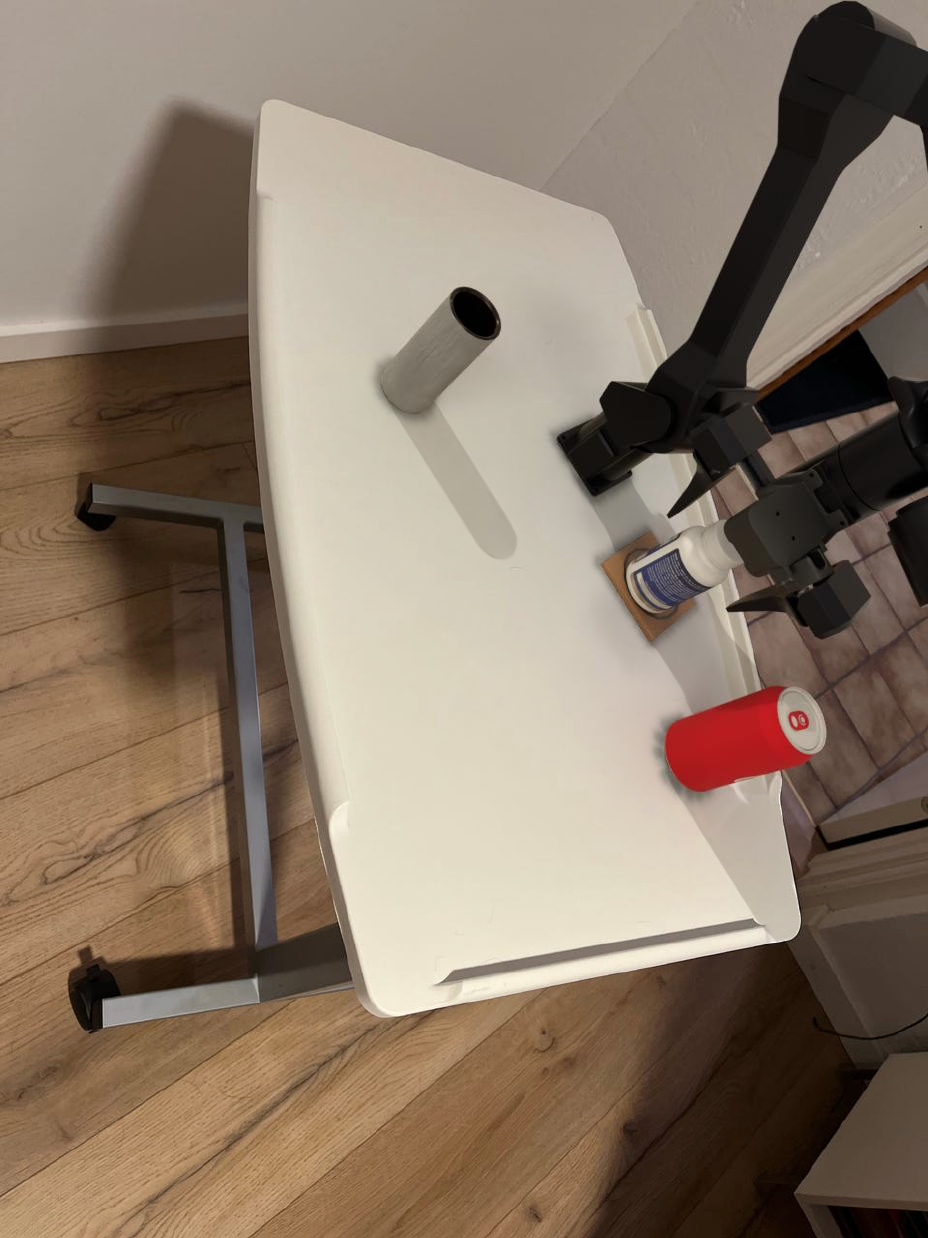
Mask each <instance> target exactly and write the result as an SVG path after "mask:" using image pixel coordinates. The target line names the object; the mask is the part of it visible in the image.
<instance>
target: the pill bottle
mask: <svg viewBox="0 0 928 1238" xmlns="http://www.w3.org/2000/svg"><path fill="white" fill-rule="evenodd" d="M727 520H728V519H726V518H723V519H722V518H721V519H719V520H717V521H715V522H713V523H712V524H710V525H709V526H707V527H706V526H704V525H703V526H702V525H692V526H688V527H687V528H685V529H683V530H682V531H680V532H679V533H678V532H677V534H675V535H672V536H671V537H670V538H668V539H666V540H664V541H662V542H661V543H659V545H657V546H655V547H654V548H652V549H650V550H648V551H647V552H645V553H643V554H642V555H640V556H638V557H637V558H635V559H634V560H632V561H631V562H630V564H629V566H628V568H627V573H626V579H627V584H628V588H629V590H630V593H631V595H632V597H633V598H634V600H635V601H636V602H637V603H638V604H639V605H640V606H641V607H642V608H644V609H645V610H647V611H649V612H652V613H661V612H664V611H666V610H669V609H671V608H673V607H675V606H677V605H679V604H681V603H683V602H685V601H687V600H689V599H691V598H693V599H694V598H695V597H697V596H699V595H702V594H703V593H706V592H708V591H709V590H711V589H713V588H715V587H717V586H719V585H721V584H722V583H724V582H725V581H726V579H727V578H728V576H729V573H730V570H732V569H735V568H737V567H739V566H741V565H743V564H744V562H743V560H742V558H741V557H740V555H739V554H738V552H737V551H736V549H735V547H734V546H733V544H732V543H730V542H729V541H728V540H727V538H726V536H725V534H724V524H725V522H726V521H727Z"/></svg>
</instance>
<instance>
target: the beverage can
mask: <svg viewBox="0 0 928 1238" xmlns="http://www.w3.org/2000/svg"><path fill="white" fill-rule="evenodd" d="M826 740H827V726H826V721H825V718H824V714H823V712H822V709H821V708H820V706H819V704H818V703H817V700H815V699H814V696H812V695H811V694H810V693H809V692H808V691H807V690H805V689H804V688H801V687H799V686H785V685H784V686H783V685H771V686H768V687H765V688H763V689H759V690H757V691H754V692H751V693H748V694H745V695H742V696H740V697H738V698H735V699H732V700H729V701H726V702H724V703H721V704H718V705H715V706H713V707H710V708H707V709H705V710H702V711H699V712H697V713H694V714H690V715H688V716H686V717H683V718H680V719H677V720H675V721H674V722H672V723H671V725H670V726H669V727H668V728H667V731H666V733H665V737H664V755H665V759H666V762H667V765H668V767H669V770H670V771H671V773H672V775H673V776H674V777H675V779H676V780H677V781H678V782H679V783H680V784H681V785H682V786H683V787H684V788H685V789H688V790H690V791H691V792H696V793H704V792H708V791H711V790H715V789H718V788H722V787H725V786H729V785H732V784H737V783H741V782H744V781H747V780H751V779H755V778H759V777H762V776H765V775H769V774H773V773H778V772H780V771H785V770H787V769H788V770H789V769H791V768H794V767H795V768H796V767H798V766H802V765H803V764H805V763H807V762H808V761H809V760H810V759H812V757H814V755H815V754H817V753H819V752H821V750H822V749H823V748H824V747H825V744H826Z"/></svg>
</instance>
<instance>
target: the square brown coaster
mask: <svg viewBox="0 0 928 1238" xmlns="http://www.w3.org/2000/svg"><path fill="white" fill-rule="evenodd" d="M659 544H660V543H659V541H658V540H657V538H656V537H655V535H654V533H653V532H652V530H649V531H648V532H647V531H646V533H645V534H643V535H642V536H640V537H639V538H637V539H635V540H634V541H632V542H631V543H629V544H628V545H627V546H625V547H624V548H622V549H620V550H619V551H618V552H616V553H615V554H613V555H612V556H610V557H609V558H607V559H605V560H604V561H603V562H601V563H600V565H601V567H602V569H603V570H604V572H605V573H606V575H607V577H608V578H609V579H610V581H611V582H612V584H613V586H614V587H615V589H616V591H617V593H618V594H619V596H620V598H621V599H622V600H623V602H624V603H625V605H626V607H627V609H628V610H629V611H630V613H631V615H632V616H633V618H634V619H635V621H636V623H637V624H638V626H639V627H640V629H641V631H642V632H643V634H644V635H645V637H646V639H647V640H648V642H652V641H653V640H655V639H656V638H657V637H659V636H660V635H661V634H662V633H663V632H665V631H666V630H667V629H668V628H669V627H670V626H672V625H673V624H675V622H676V621H677V620H679V619H680V618H681V617H682V616H684V615H685V614H686V613H687V612H689V611H690V610H691V609H692V608H694V607H695V606H696V605H697V602H696V601H695V599H694V597H693V598H691V599H689V600H687V601H685V602H683V603H681V604H679V605H677V606H675V607H673V608H671V609H669V610H666V611H664V612H661V613H652V612H649V611H647V610H645V609H644V608H642V607H641V606H640V605H639V604H638V603H637V602H636V601H635V600H634V598H633V597H632V595H631V593H630V590H629V588H628V584H627V579H626V573H627V568H628V566H629V564H630V562H631V561H632V560H634V559H635V558H637V557H638V556H640V555H642V554H643V553H645V552H647V551H648V550H650V549H652V548H654V547H655V546H657V545H659Z"/></svg>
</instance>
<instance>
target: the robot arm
mask: <svg viewBox="0 0 928 1238" xmlns="http://www.w3.org/2000/svg"><path fill="white" fill-rule="evenodd" d="M781 83H782V84H781V87H780V90H779V94H778V98H777V103H778V105H777V135H776V137H777V141H776V147H775V149H774V152H773V154H772V156H771V159H770V160H769V163H768V166H767V167H766V170H765V172H764V174H763V176H762V179H761V181H760V182H759V185H758V187H757V189H756V192H755V194H754V196H753V198H752V200H751V203H750V205H749V207H748V209H747V211H746V213H745V216H744V217H743V220H742V222H741V224H740V226H739V229H738V230H737V233H736V235H735V237H734V240H733V242H732V244H731V246H730V248H729V251H728V253H727V255H726V257H725V259H724V261H723V264H722V266H721V267H720V270H719V272H718V275H717V277H716V278H715V280H714V283H713V285H712V288H711V289H710V292H709V294H708V297H707V298H706V300H705V303H704V305H703V307H702V310H701V312H700V314H699V316H698V318H697V321H696V322H695V325H694V327H693V329H692V331H691V333H690V335H689V336H688V338H687V340H686V341H685V342H684V343H682V344H681V345H680V346H679V347H678V348H677V349H676V350H674V352H673V353H671V354H670V355H669V356H668V357H667V358H666V359H665V360H664V361H663V362H662V363H660V364H659V365H658V366H657V367H656V369H655V371H654V372H653V373H652V375H651V377H650V379H649V380H648V382H642V381H641V382H639V381H621V380H611V381H610V382H609V383H608V384H607V386H606V388H605V389H604V391H603V392H602V394H601V395H600V397H599V399H598V401H599V404H600V408H601V410H602V411H601V412H600V413H599V414H597V415H596V416H594V417H592V418H590V419H588V420H586V421H584V422H582V423H580V424H578V425H575V426H573V427H571V428H569V429H567V430H565V431H563V432H561V433H559V434H558V435H557V436H556V441H557V443H558V444H559V446H560V448H561V449H562V451H563V452H564V454H565V456H566V457H567V459H568V461H569V462H570V464H571V465H572V466H573V468H574V470H575V471H576V473H577V475H578V477H579V478H580V479H581V481H582V483H583V484H584V486H585V488H586V489H587V491H588V492H589V494H590V495H591V496H592V497H594V498H597V497H599V496H600V495H603V494H604V493H605V492H607V491H609V490H611V489H612V488H615V487H616V486H618V485H619V484H621V483H623V482H625V481H627V480H628V479H629V478H631V477H632V476H633V471H632V469H635V468H636V467H637V466H638V465H640V464H642V463H643V462H644V461H646V460H647V459H649V458H650V457H652V456H653V455H655V454H656V455H658V454H659V455H684V454H685V455H686V454H692V458H693V460H694V462H695V464H696V467H695V471H694V472H695V473H694V475H693V476H692V478H691V480H690V482H689V483H688V486H686V488H685V490H684V491H683V492H682V493H681V495H680V496H679V497H678V499H677V500H676V501H675V503H674V504H673V506H671V508H670V509H669V511H668V512H667V514H666V517H667V519H669V520H670V519H672V518H673V517H675V516H677V515H679V514H680V513H682V512H683V511H684V510H686V509H687V508H689V507H690V506H692V505H693V504H694V503H696V502H697V501H698V500H699V499H700V498H702V497H703V496H704V495H706V494H707V493H708V492H710V491H711V490H712V489H713V488H714V487H715V486H717V485H718V484H719V483H720V482H721V481H723V480H724V479H725V478H727V477H728V476H729V475H731V474H732V473H733V472H734V471H736V470H737V472H738V474H739V476H740V477H741V478H742V480H743V482H744V483H745V485H746V486H747V488H748V489H749V491H750V493H751V494H752V496H753V498H754V500H755V501H752V503H750V504H749V505H748V506H746V507H744V508H743V509H741V510H740V511H738V512H737V513H735V514H734V515H732V516H730V517H729V518H728V519H726V520H727V521H726V522H725V524H724V534H725V536H726V538H727V540H728V541H729V542H730V543H732V544H733V546H734V547H735V549H736V551H737V552H738V554H739V555H740V557H741V558H742V560H743V562H744V563H743V566H744V568H745V570H746V571H747V572H748V574H750V576H751V577H754V578H763V577H764V576H767V575H769V576H770V578H771V579H772V581H773V583H774V584H772V585H770V586H766V587H764V588H761V589H759V590H757V591H753V592H750V593H749V594H746V595H743V597H741V598H739V599H737V600H735V601H733V602H731V603H729V604H728V605H727V606H726V607H725V611H726V612H727V613H751V612H752V613H753V612H754V613H755V612H775V613H784V614H787V615H788V616H790V617H791V618H793V619H794V620H795V621H796V623H797V624H798V625H799V626H800V627H801V628H809V630H810V631H811V633H812V634H813V636H814V637H815V638H817V639H819V640H825V639H827V638H830V637H832V636H835V635H838V634H840V633H842V632H844V631H845V630H847V629H848V628H850V627H851V626H852V625H853V624H854V623H855V621H857V619H858V618H859V617H860V616H861V615H862V614H863V612H865V610H866V609H867V608H868V607H869V605H870V602H871V599H872V594H871V593H870V591H869V590H868V588H867V586H866V585H865V584H864V582H863V580H862V579H861V577H860V576H859V574H858V572H857V571H856V570H855V568H854V566H853V564H852V563H851V561H850V560H849V559H842V560H840V561H837V562H835V563H833V564H832V563H831V562H830V561H829V559H828V557H827V556H826V554H825V553H826V552H828V551H829V549H828V547H827V546H826V545H827V544H828V543H830V541H832V540H833V538H834V537H835V536H836V535H837V534H838V533H840V532H842V531H843V530H846V529H847V528H850V527H852V526H854V525H856V524H858V523H860V522H862V521H864V520H867V519H868V518H871V517H872V516H875V515H876V514H879V513H881V512H883V511H884V510H887V509H889V508H891V507H893V506H895V505H897V504H899V503H901V502H904V501H905V500H907V499H910V498H912V497H914V496H915V495H917V494H919V493H922V492H923V491H925V490H928V379H927V380H924V379H921V378H919V377H916V376H915V377H913V376H903V375H892V376H889V378H887V381H886V384H887V387H888V389H889V391H890V394H891V395H892V398H893V400H894V402H895V404H896V407H897V408H896V409H895V410H892V411H891V412H890V413H887V414H886V415H884V416H882V417H881V418H879V419H877V420H876V421H874V422H872V423H870V424H869V425H866V426H865V427H862V429H860V430H858V431H857V432H855V433H853V434H851V435H849V436H848V437H846V438H844V439H842V440H841V441H839V442H837V443H835V444H833V445H832V446H830V447H828V448H827V449H825V450H823V451H821V452H819V453H818V454H816V455H814V456H813V457H811V458H810V459H807V460H806V461H804V462H803V463H801V464H799V465H797V466H796V467H794V468H792V469H790V470H788V471H787V472H785V473H782V475H780V476H778V477H776V476H775V475H774V474H773V472H772V471H771V469H770V468H769V466H768V464H767V463H766V461H765V460H764V458H763V456H762V455H761V453H760V451H759V449H761V448H763V447H764V446H766V445H767V444H769V443H770V442H772V441H773V438H772V436H771V435H770V433H769V432H768V430H767V428H766V426H765V425H764V424H763V422H762V421H761V419H760V418H759V416H758V414H757V413H756V411H755V410H754V408H753V406H755V404H756V403H757V401H758V398H759V395H760V390H759V389H757V388H754V387H752V386H748V385H747V384H748V383H747V382H748V381H747V380H748V379H747V377H748V373H747V372H748V361H749V359H750V356H751V353H752V351H753V349H754V347H755V346H756V343H757V341H758V339H759V337H760V335H761V333H762V331H763V329H764V328H765V326H766V323H767V321H768V319H769V318H770V315H771V313H772V311H773V309H774V307H775V305H776V303H777V301H778V299H779V297H780V295H781V293H782V291H783V290H784V287H785V286H786V283H787V281H788V279H789V277H790V275H791V273H792V271H793V269H794V267H795V265H796V263H797V261H798V259H799V257H800V255H801V253H802V252H803V249H804V247H805V245H806V243H807V241H808V239H809V237H810V235H811V234H812V232H813V229H814V227H815V225H816V224H817V221H818V220H819V217H820V215H821V213H822V211H823V209H824V207H825V205H826V203H827V201H828V199H829V198H830V195H831V194H832V192H833V190H834V188H835V186H836V183H837V181H838V179H839V178H840V176H841V175H842V173H843V172H844V170H845V169H846V168H847V167H848V166H849V165H850V164H851V163H852V162H854V160H856V159H857V158H858V157H859V156H860V155H861V154H863V152H864V151H865V150H867V148H869V147H870V146H871V145H872V144H873V143H874V142H875V141H876V140H878V138H879V137H881V135H882V134H883V132H884V131H885V129H886V128H887V127H888V125H889V124H890V122H891V121H892V119H893V117H894V116H895V117H898V118H899V119H901V120H905V121H906V122H909V123H911V124H914V125H916V126H918V127H919V129H920V132H921V134H922V141H923V149H924V155H925V156H924V157H925V163H926V169H927V170H926V171H927V172H928V50H926V49H923V48H920V47H919V46H918V44H917V41H916V40H915V38H914V36H913V35H912V33H911V32H910V31H908V30H906V29H905V28H903V27H902V26H900V25H898V24H896V23H895V22H893V21H892V20H889V19H888V18H886V17H885V16H883V15H881V14H879V13H878V12H876V11H874V10H873V9H871V8H869V7H868V6H866V5H864V4H862V3H861V2H859V1H857V0H842V1H839V2H836V3H834V4H830V5H829V6H828V7H826V8H824V9H823V10H822V11H820V12H818V14H814V15H812V16H811V17H810V18H809V19H808V21H807V22H806V23H805V24H804V26H803V27H802V29H801V31H800V33H799V34H798V36H797V38H796V40H795V43H794V46H793V48H792V51H791V54H790V58H789V61H788V65H787V67H786V70H785V74H784V77H783V81H782V82H781ZM894 513H895V518H893V519H891V520H889V521H888V522H887V526H888V529H889V530H888V531H886V536H887V538H888V539H889V542H890V544H891V546H892V548H893V550H894V553H895V555H896V557H897V559H898V562H899V564H900V567H901V568H902V571H903V573H904V576H905V578H906V580H907V582H908V585H909V586H910V588H911V590H912V593H913V595H914V597H915V599H916V602H917V604H918V606H919V608H920V609H923V608H927V607H928V494H927V495H925V496H923V497H921V498H918V499H916V500H914V501H911V502H909V503H908V504H905V505H904V506H901V507H900V508H898V509H897V510H896V511H895V512H894Z"/></svg>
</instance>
